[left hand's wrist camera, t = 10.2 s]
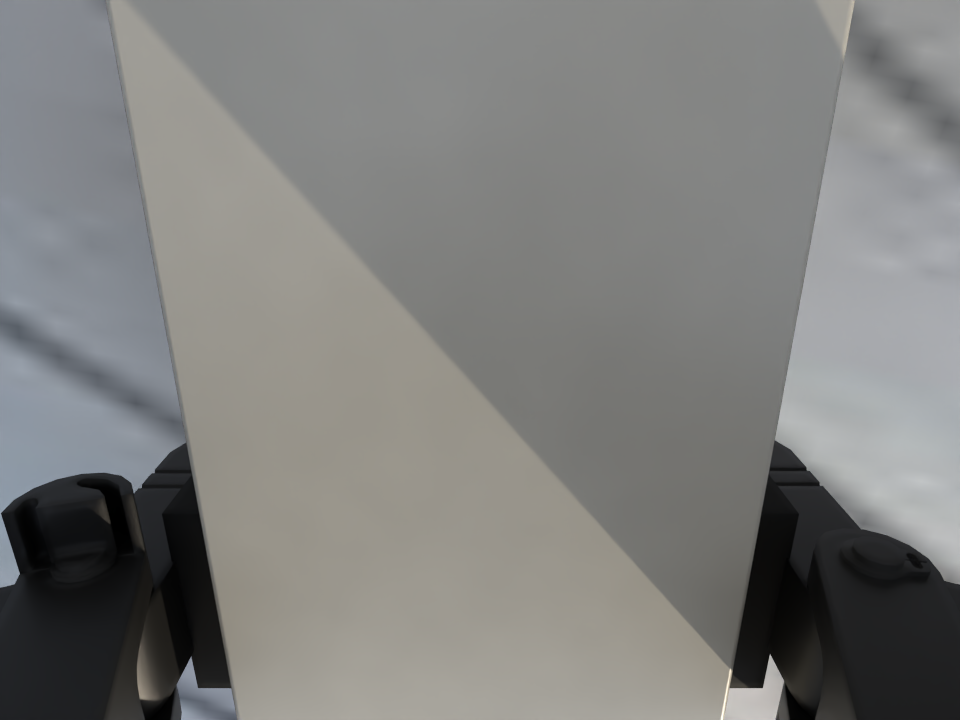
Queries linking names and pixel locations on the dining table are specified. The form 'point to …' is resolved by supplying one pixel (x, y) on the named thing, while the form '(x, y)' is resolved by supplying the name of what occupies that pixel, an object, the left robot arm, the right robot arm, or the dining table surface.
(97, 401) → the dining table surface
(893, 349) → the dining table surface
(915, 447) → the dining table surface
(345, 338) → the beam
